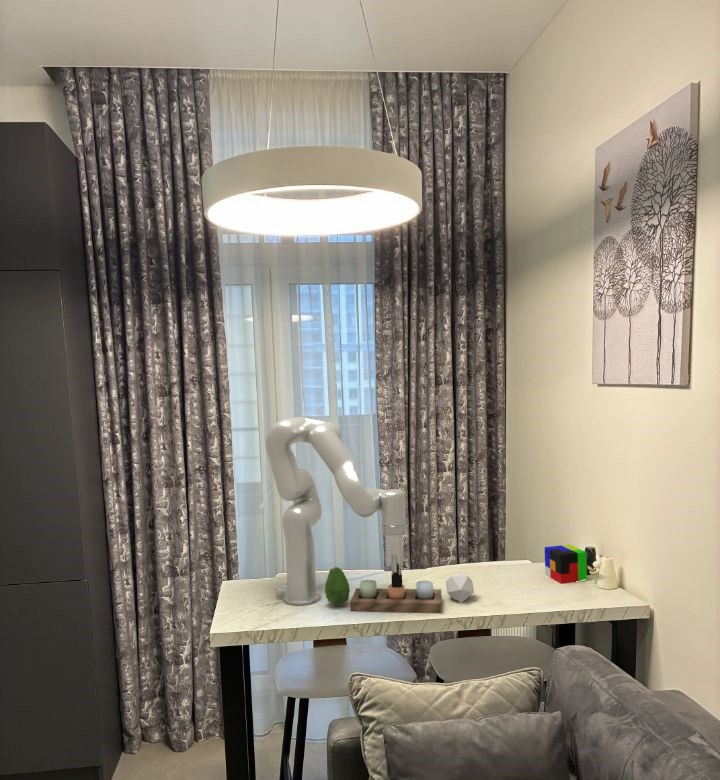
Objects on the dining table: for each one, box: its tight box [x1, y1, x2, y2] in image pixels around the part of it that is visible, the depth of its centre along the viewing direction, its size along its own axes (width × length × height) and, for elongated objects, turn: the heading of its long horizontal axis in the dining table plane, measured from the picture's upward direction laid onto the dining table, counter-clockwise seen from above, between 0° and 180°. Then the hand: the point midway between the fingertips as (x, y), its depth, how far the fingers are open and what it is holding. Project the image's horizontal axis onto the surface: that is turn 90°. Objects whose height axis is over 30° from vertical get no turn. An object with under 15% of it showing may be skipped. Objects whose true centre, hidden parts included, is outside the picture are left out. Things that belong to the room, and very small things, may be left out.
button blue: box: [415, 580, 434, 599], centre depth 187 cm, size 5×5×4 cm
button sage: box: [359, 579, 377, 598], centre depth 189 cm, size 5×5×4 cm
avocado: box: [324, 566, 351, 606], centre depth 190 cm, size 8×8×12 cm
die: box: [445, 571, 475, 603], centre depth 191 cm, size 8×9×10 cm
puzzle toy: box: [543, 544, 588, 585], centre depth 207 cm, size 10×10×10 cm
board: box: [349, 587, 442, 614], centre depth 188 cm, size 28×12×3 cm, turn 82°
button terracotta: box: [387, 583, 406, 599], centre depth 188 cm, size 5×5×4 cm
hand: (397, 586), depth 188 cm, fingers closed
